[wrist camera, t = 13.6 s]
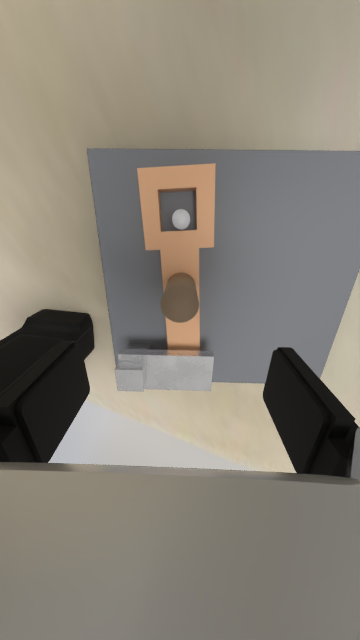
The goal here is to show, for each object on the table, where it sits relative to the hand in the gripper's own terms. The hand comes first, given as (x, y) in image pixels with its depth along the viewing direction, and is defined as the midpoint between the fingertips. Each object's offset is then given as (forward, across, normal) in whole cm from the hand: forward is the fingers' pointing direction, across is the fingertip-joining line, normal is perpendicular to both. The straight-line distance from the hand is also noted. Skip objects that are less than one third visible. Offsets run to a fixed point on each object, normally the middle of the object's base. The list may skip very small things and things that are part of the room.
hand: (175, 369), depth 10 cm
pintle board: (+17, -5, 0) cm, 18 cm away
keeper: (+17, +2, +10) cm, 19 cm away
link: (+15, 0, -1) cm, 15 cm away
